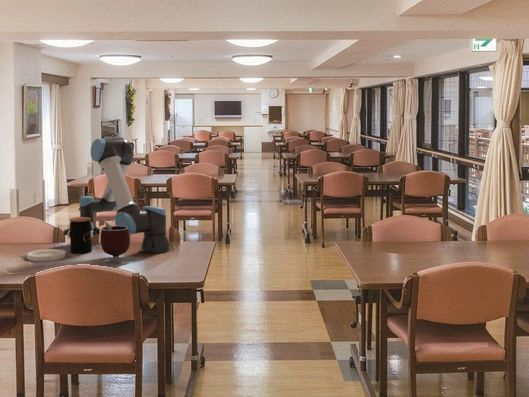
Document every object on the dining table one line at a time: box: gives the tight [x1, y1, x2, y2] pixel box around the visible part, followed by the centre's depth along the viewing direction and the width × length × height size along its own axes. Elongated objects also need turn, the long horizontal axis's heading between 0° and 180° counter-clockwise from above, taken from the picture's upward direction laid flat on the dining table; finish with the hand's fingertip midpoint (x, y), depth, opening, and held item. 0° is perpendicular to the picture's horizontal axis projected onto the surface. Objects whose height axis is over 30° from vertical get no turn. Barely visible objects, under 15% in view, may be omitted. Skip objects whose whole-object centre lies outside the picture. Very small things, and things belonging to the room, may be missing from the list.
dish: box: [26, 248, 67, 262], centre depth 364 cm, size 18×18×2 cm
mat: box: [19, 254, 74, 265], centre depth 364 cm, size 22×20×1 cm
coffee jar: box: [69, 216, 93, 255], centre depth 376 cm, size 11×11×18 cm
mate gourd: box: [100, 220, 131, 267], centre depth 351 cm, size 16×14×20 cm
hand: (79, 234), depth 373 cm, fingers closed on coffee jar, 11 cm apart
